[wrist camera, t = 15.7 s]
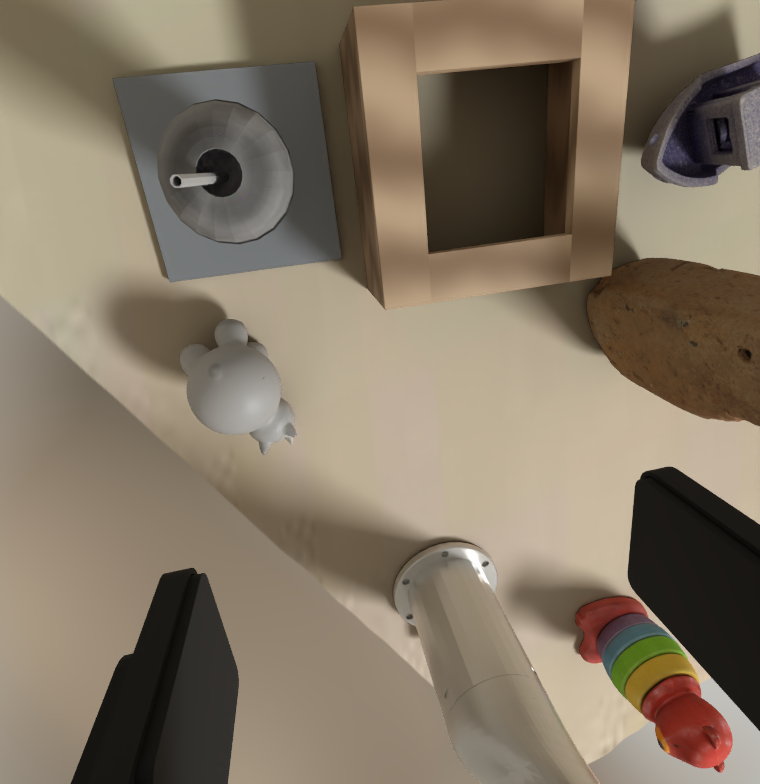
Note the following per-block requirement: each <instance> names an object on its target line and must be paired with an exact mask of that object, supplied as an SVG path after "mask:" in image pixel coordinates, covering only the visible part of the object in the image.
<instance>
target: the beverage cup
mask: <svg viewBox="0 0 760 784" xmlns="http://www.w3.org/2000/svg"><path fill="white" fill-rule="evenodd" d="M157 167H158V179H159V182H160V185H161V187H162V190H163V193H164V196H165V198H166V201H167V202H168V204H169V205H170V207H171V208H172V209H173V211H174V212H175V213H176V215H177V216H178V218H179V219H180V220H181V221H182V222H183V223H185V224H186V225H187V226H188V227H190V228H191V229H192V230H193V231H195V232H196V233H197V234H198V235H201V236H203V237H206V238H208V239H211V240H213V241H216V242H218V243H228V244H243V243H247V242H252V241H256V240H259V239H261V238H262V237H264V236H265V235H267V234H268V233H270V232H272V231H273V230H275V229H276V227H277V226H278V225H279V223H280V222H281V221H282V220H283V218H284V217H285V216H286V215H287V213H288V210H289V207H290V204H291V201H292V198H293V196H294V180H295V171H294V167H293V164H292V160H291V156H290V152H289V149H288V147H287V146H286V144H285V142H284V141H283V139H282V137H281V136H280V134H279V132H278V130H277V129H276V128H275V127H274V126H273V125H272V124H271V123H270V122H268V121H267V120H266V119H265V118H264V117H263V116H262V115H261V114H260V113H259V112H257V111H255V110H253V109H251V108H249V107H247V106H245V105H243V104H241V103H239V102H232V101H225V100H218V99H214V100H209V101H204V102H200V103H195V104H193V105H191V106H190V107H188V108H187V109H185V110H184V111H182V112H181V113H179V114H178V115H176V116H175V117H174V119H173V120H172V122H171V123H170V124H169V126H168V127H167V129H166V130H165V132H164V133H163V134H162V138H161V142H160V146H159V149H158V153H157Z"/></svg>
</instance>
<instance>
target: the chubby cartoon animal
mask: <svg viewBox="0 0 760 784" xmlns="http://www.w3.org/2000/svg"><path fill="white" fill-rule="evenodd" d="M214 335H215V340H216V343H217V345H218V348H215V349H213V350H211V351H210V350H209V348H207V347H206V346H204V345H202V344H191V345H188V346H186V347H185V348H183V350H182V351H181V354H180V364H181V367H182V369H183V371H184V372H185V373H186V374H187V375H188V376H189V378H188V383H187V398H188V402H189V405H190V407H191V410H192V411H193V413H194V415H195V416H196V417H197V419H198V420H199V421H200V422H201V423H202V424H204V425H205V426H206V427H208V428H210V429H211V430H213V431H216V432H218V433H222V434H226V435H242V434H247V433H249V434H250V435H251V436H252V437H253V438H254V439H256V440H257V441H259V446H260V450H261V452H262V454H263V455H265V454H266V453H267V451H268V448H269V446H270V445H271V444H273V443H276V442H279V441H281V440H283V439H284V438H286V440H287V441H288V442H289V443H290V444H291V445H292V443H293V437H296V431H295V429H294V427H293V426H294V424H295V416H294V413H293V411H292V408H291V407H290V405H289V404H288V403H287V402H286V401H285V400H284V399H282V398H281V382H280V378H279V375H278V372H277V370H276V368H275V367H274V365H273V364H272V362H271V361H270V360H269V359H268V354H267V350H266V348H265V347H264V346H263V345H262V344H260V343H257V342H248V343H247V341H248V334H247V330H246V327H245V326H244V324H243V323H242V322H240V321H238V320H234V319H226V320H223V321H221V322H220V323H219V324H218V325H217V326H216V328H215V332H214Z"/></svg>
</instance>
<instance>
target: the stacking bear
mask: <svg viewBox="0 0 760 784" xmlns="http://www.w3.org/2000/svg"><path fill="white" fill-rule="evenodd" d="M576 624H577V625H578V626H579V627H580V628H581V629H582V630H583V631H584V640H583V642H582V644H581V646H580V649H579V651H580V655H581V656H582V658H583V659H584V660H585V661H587V662H590V663H601V662H603V665H604V667H605V670H606V672H607V674H608V675H609V677H610V679H611V681H612V682H613V684H614V686H615V687H616V688H617V689H618V691H619V692H620V693H621V694H622V695H623V696H624V697H625V698H626V699H627V700H628V701H629V702H630V703H631V704H632V705H633V706H634V707H635V708H636V709H637V710H638V711H639V712H640V713H642V714H643V715H644V717H645V718H646V719H648V720H649V721H651V722H654V723H656V727H655V732H656V736H657V740H658V743H659V745H660V747H661V748H662V749H663V750H664V751H665V752H667V753H668V754H669V755H671V756H673V757H675V758H677V759H680V760H682V761H684V762H686V763H688V764H691V765H693V766H695V767H698V768H711V767H714V768H715V769H716V771H718V772H720V773H721V772H722V771H723V770H724V767H725V766H724V762H723V761H724V760H725V759H726V758H727V756H728V755H729V753H730V751H731V748H732V733H731V731H730V728H729V726H728V724H727V722H726V720H725V719H724V718H723V716H722V715H721V714H720V713H719V712H718V711H717V710H716V709H715V708H714V707H713V706H712V705H710V704H709V703H708V702H707V701H705V700H704V699H702V698H701V689H700V685H699V679H698V676H697V674H696V672H695V670H694V669H693V667H692V665H691V664H690V662H689V661H688V659H687V657H686V655H685V653H684V652H683V650H682V649H681V648H680V646H679V645H678V644H677V643H676V642H675V640H674V639H673V638H672V637H671V636H670V635H669V634H668V633H667V632H666V631H665V630H663V629H662V628H661V627H659V626H658V625H657V624H655V623H654V622H653V621H652V620H650V619H649V618H648V615H647V612H646V610H645V609H644V607H643V606H642V604H641V603H640V602H638V601H637V600H635V599H631V598H625V597H614V598H606V599H602V600H598V601H595V602H592V603H590V604H587V605H585V606H583V607H582V608H581V609H580V610H579V612H578V613H577V614H576Z"/></svg>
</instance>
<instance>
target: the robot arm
mask: <svg viewBox="0 0 760 784" xmlns="http://www.w3.org/2000/svg"><path fill="white" fill-rule="evenodd" d="M628 580H629V583H630V585H631V587H632V589H633V590H634V591H635V593H636V594H637V595H638V596H639V597H640V598H641V599H642V601H643V602H644V603H645V604H646V605H647V606H648V607H649V608H650V609H651V611H652V612H653V613H654V614H655V615H656V616H657V617H658V618H659V619H660V621H661V622H662V623H663V624H664V625H665V626H666V627H667V628H668V629H669V631H670V632H671V633H672V634H673V635H674V636H675V637H676V638H677V639H678V641H679V642H680V643H681V644H682V645H683V646H684V647H685V648H686V650H687V651H688V652H689V653H690V654H691V655H692V656H693V657H694V658H695V660H696V661H697V662H698V663H699V664H700V665H701V666H702V667H703V668H704V670H705V671H706V672H707V673H708V674H709V675H710V676H711V677H712V678H713V679H714V681H715V682H716V683H717V684H718V685H719V686H720V687H721V688H722V690H723V691H724V692H725V693H726V694H727V695H728V696H729V697H730V698H731V700H732V701H733V702H734V703H735V704H736V705H737V706H738V707H739V708H740V710H741V711H742V712H743V713H744V714H745V715H746V716H747V717H748V718H749V720H750V721H751V722H752V723H753V724H754V725H755V726H756V727H757V728H758V730H759V731H760V524H758V523H757V522H755V521H754V520H752V519H751V518H749V517H748V516H746V515H745V514H743V513H742V512H740V511H739V510H737V509H736V508H734V507H733V506H731V505H730V504H728V503H727V502H725V501H724V500H722V499H721V498H719V497H718V496H716V495H715V494H713V493H712V492H710V491H709V490H707V489H706V488H704V487H703V486H701V485H700V484H698V483H697V482H695V481H694V480H692V479H691V478H689V477H688V476H686V475H685V474H683V473H682V472H681V471H679V470H678V469H676V468H674V467H664V468H659V469H655V470H650V471H646V472H644V473H643V474H642V475H641V478H640V480H638V481H637V482H636V485H635V494H634V506H633V517H632V529H631V540H630V552H629V564H628ZM497 581H498V576H497V570H496V568H495V565H494V563H493V562H492V560H491V558H490V557H489V555H488V554H487V553H486V552H485V551H483V550H482V549H480V548H479V547H477V546H474V545H471V544H469V543H462V542H449V543H443V544H438V545H435V546H432V547H430V548H428V549H426V550H424V551H422V552H420V553H418V554H417V555H416V556H414V557H413V558H412V559H410V560H409V561H408V562H407V563H406V564H405V565H404V567H403V568H402V570H401V571H400V572H399V574H398V576H397V578H396V580H395V584H394V589H393V597H394V601H395V605H396V608H397V610H398V613H399V614H400V615H401V617H402V618H403V619H404V620H405V621H407V622H408V623H409V624H411V625H413V626H415V627H416V628H417V632H418V635H419V638H420V641H421V645H422V648H423V651H424V655H425V658H426V661H427V665H428V668H429V671H430V674H431V678H432V681H433V684H434V688H435V691H436V694H437V698H438V701H439V704H440V707H441V711H442V714H443V717H444V721H445V724H446V727H447V731H448V734H449V738H450V741H451V744H452V746H453V749H454V751H455V753H456V755H457V757H458V759H459V760H460V762H461V763H462V765H463V766H464V767H465V769H466V770H467V771H468V772H469V773H470V774H471V775H472V776H473V777H474V778H475V779H476V780H477V781H478V782H480V783H481V784H600V782H599V781H598V780H597V778H596V777H595V775H594V774H593V772H592V771H591V770H590V768H589V766H588V765H587V763H586V762H585V760H584V758H583V757H582V755H581V754H580V752H579V751H578V749H577V747H576V746H575V744H574V742H573V740H572V739H571V737H570V735H569V734H568V732H567V730H566V728H565V727H564V725H563V723H562V721H561V719H560V717H559V716H558V714H557V712H556V710H555V708H554V706H553V704H552V703H551V701H550V699H549V697H548V695H547V693H546V691H545V689H544V688H543V686H542V684H541V682H540V680H539V678H538V676H537V674H536V672H535V670H534V668H533V666H532V664H531V663H530V661H529V659H528V657H527V655H526V653H525V651H524V649H523V647H522V645H521V643H520V642H519V640H518V638H517V636H516V634H515V632H514V630H513V628H512V626H511V624H510V623H509V621H508V619H507V617H506V615H505V613H504V611H503V609H502V607H501V605H500V603H499V602H498V600H497V598H496V596H495V591H496V588H497ZM238 687H239V678H238V670H237V666H236V663H235V660H234V657H233V654H232V651H231V648H230V645H229V641H228V638H227V635H226V632H225V629H224V627H223V623H222V620H221V618H220V614H219V611H218V608H217V605H216V603H215V599H214V596H213V593H212V590H211V587H210V584H209V581H208V578H207V575H206V574H205V573H201V574H197V572H196V570H195V569H194V568H189V569H184V570H179V571H175V572H170V573H165V574H163V575H162V577H161V578H160V581H159V584H158V586H157V589H156V592H155V594H154V597H153V600H152V603H151V606H150V608H149V611H148V614H147V617H146V620H145V622H144V625H143V628H142V631H141V634H140V636H139V639H138V642H137V644H136V648H135V650H134V653H133V654H129V655H125V656H124V657H122V658H121V659H120V661H119V662H118V664H117V666H116V668H115V671H114V673H113V676H112V679H111V681H110V684H109V686H108V689H107V691H106V694H105V697H104V699H103V702H102V704H101V707H100V710H99V712H98V715H97V717H96V720H95V722H94V725H93V728H92V730H91V733H90V736H89V738H88V741H87V743H86V746H85V748H84V751H83V753H82V756H81V759H80V761H79V764H78V766H77V769H76V772H75V774H74V777H73V780H72V782H71V784H228V776H229V767H230V759H231V750H232V741H233V731H234V723H235V714H236V705H237V696H238Z"/></svg>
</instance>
